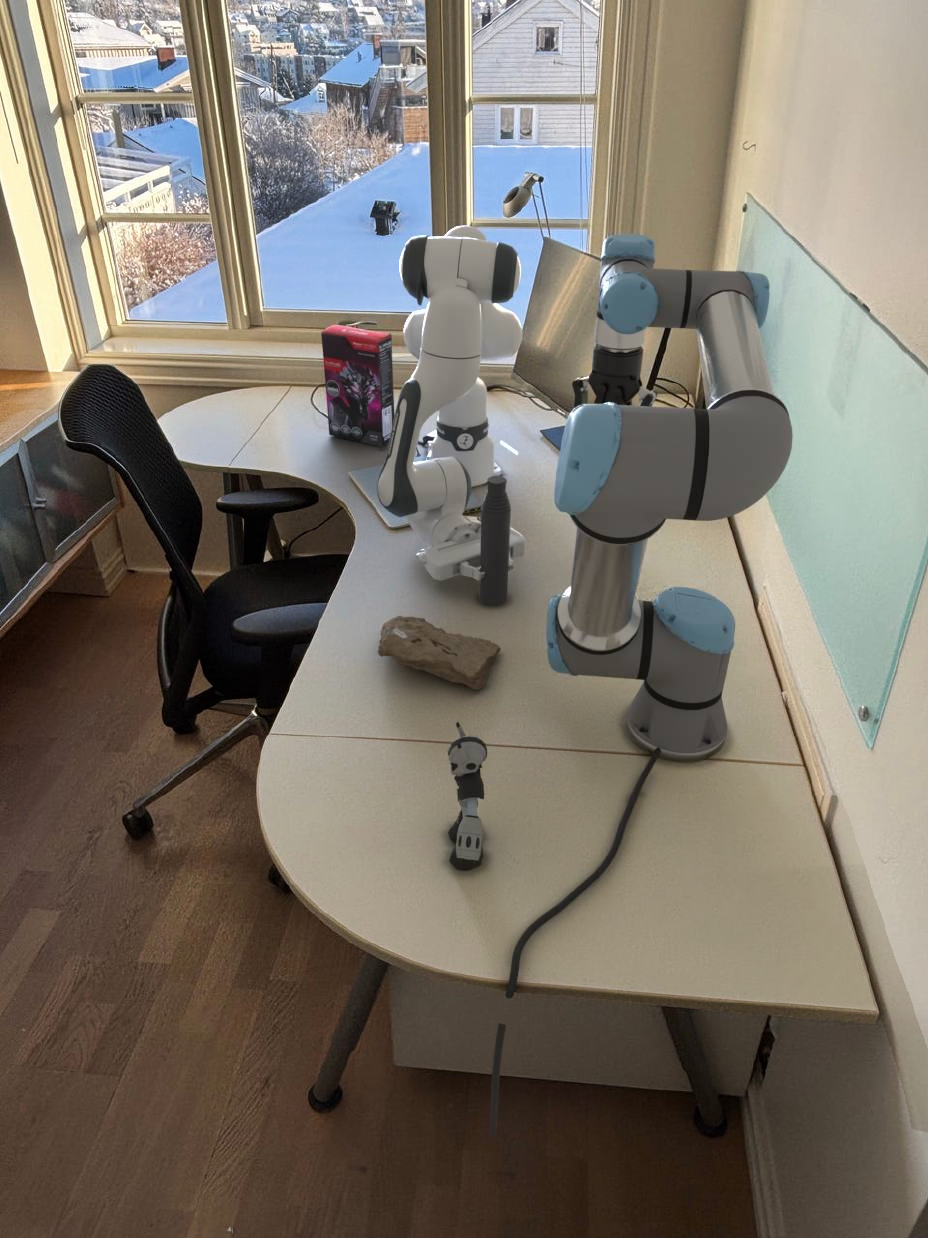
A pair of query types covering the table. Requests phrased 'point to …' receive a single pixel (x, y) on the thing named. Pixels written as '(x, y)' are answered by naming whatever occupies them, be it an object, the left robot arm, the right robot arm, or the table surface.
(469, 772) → the robot
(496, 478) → the bottle
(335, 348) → the graphics card box
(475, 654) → the stone
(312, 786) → the table surface
